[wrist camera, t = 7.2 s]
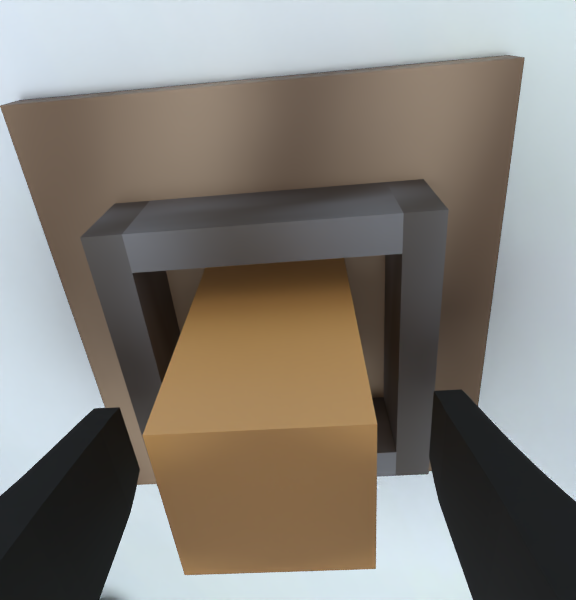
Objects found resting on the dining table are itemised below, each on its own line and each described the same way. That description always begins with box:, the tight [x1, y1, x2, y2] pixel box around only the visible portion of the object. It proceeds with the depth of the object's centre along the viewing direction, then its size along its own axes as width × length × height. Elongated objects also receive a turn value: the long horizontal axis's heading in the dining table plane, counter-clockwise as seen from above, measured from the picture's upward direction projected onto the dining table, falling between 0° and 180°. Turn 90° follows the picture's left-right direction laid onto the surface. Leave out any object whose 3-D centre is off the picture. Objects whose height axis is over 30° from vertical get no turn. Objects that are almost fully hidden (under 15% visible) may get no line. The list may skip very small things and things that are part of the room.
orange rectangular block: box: [142, 258, 377, 575], centre depth 12 cm, size 4×4×7 cm
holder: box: [0, 55, 524, 486], centre depth 15 cm, size 13×14×4 cm
